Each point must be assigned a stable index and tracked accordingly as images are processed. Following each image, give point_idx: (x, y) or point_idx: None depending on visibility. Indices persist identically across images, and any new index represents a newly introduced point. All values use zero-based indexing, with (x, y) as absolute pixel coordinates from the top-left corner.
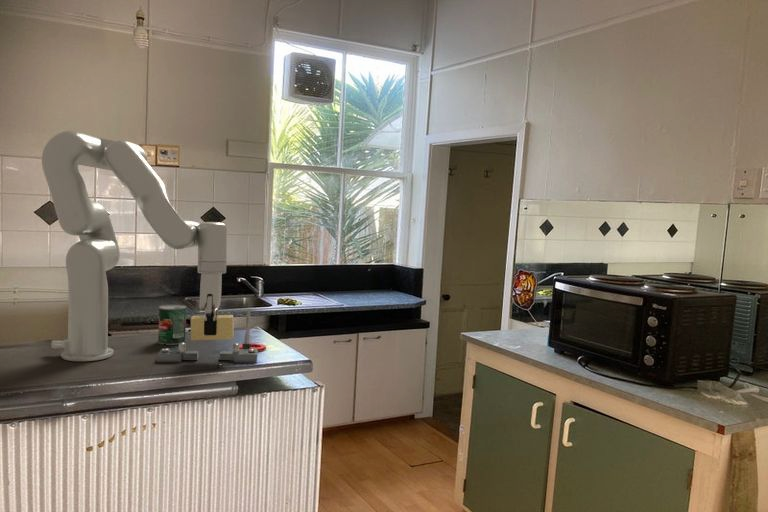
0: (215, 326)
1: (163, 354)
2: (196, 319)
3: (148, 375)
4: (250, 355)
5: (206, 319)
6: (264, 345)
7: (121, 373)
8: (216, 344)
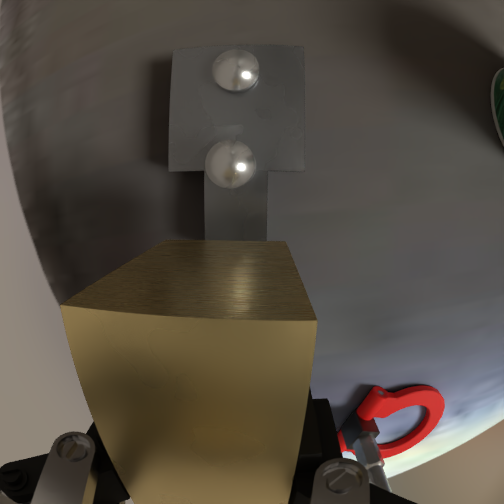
0: None
1: (172, 77)
2: (87, 373)
3: (21, 104)
4: None
5: (62, 451)
6: (399, 452)
7: (53, 17)
8: (486, 300)
